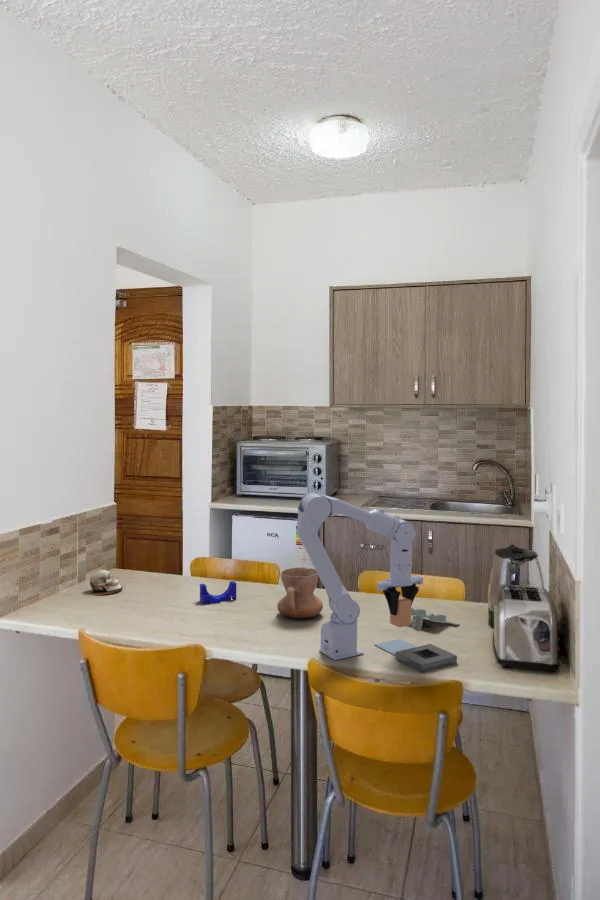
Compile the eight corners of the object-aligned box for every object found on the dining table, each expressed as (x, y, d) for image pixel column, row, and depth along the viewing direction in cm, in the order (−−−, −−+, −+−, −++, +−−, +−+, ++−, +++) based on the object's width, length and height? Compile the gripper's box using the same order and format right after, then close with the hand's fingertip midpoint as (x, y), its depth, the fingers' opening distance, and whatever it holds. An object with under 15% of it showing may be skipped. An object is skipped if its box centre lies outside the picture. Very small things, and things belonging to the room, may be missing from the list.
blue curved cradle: (202, 605, 218) (203, 587, 218) (199, 601, 223) (199, 584, 222) (237, 601, 223) (237, 584, 223) (233, 597, 227) (233, 580, 227)
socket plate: (421, 672, 163) (421, 664, 163) (395, 659, 171) (395, 651, 171) (456, 663, 169) (456, 655, 169) (430, 651, 178) (430, 643, 177)
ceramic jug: (289, 605, 219) (289, 563, 218) (330, 609, 213) (330, 566, 212) (266, 622, 202) (266, 576, 201) (310, 627, 197) (309, 581, 195)
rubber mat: (395, 655, 174) (395, 654, 174) (374, 645, 182) (374, 644, 182) (421, 649, 179) (421, 648, 179) (399, 639, 186) (399, 638, 186)
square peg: (399, 627, 176) (399, 601, 176) (390, 623, 179) (390, 598, 179) (410, 625, 178) (411, 599, 178) (401, 620, 181) (402, 596, 181)
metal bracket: (438, 615, 191) (396, 604, 201) (435, 636, 190) (393, 623, 201) (463, 619, 201) (422, 608, 211) (460, 638, 200) (419, 626, 210)
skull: (126, 583, 241) (122, 567, 234) (121, 607, 234) (116, 592, 226) (93, 581, 241) (88, 566, 233) (87, 606, 233) (81, 591, 226)
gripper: (389, 570, 171) (388, 621, 172) (431, 564, 178) (430, 613, 179) (372, 564, 177) (371, 613, 178) (414, 558, 184) (413, 606, 185)
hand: (399, 613), depth 179 cm, fingers closed on square peg, 4 cm apart
